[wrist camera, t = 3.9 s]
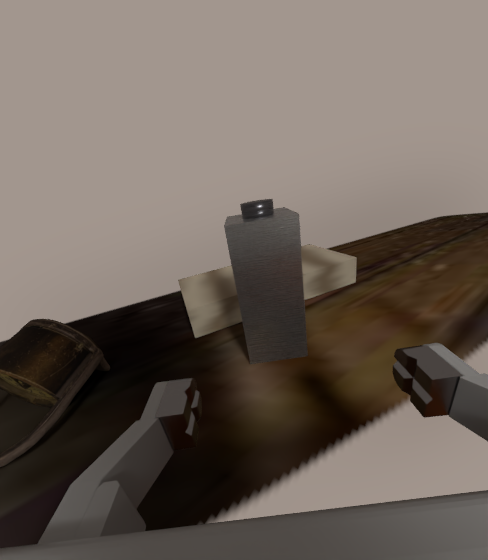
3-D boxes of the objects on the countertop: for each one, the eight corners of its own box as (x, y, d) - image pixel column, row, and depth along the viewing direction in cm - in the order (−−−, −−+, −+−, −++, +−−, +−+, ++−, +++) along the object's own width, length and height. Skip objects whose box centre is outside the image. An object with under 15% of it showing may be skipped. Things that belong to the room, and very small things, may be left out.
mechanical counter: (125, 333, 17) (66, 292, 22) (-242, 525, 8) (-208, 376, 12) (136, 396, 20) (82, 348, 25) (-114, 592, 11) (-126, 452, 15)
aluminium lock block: (250, 364, 20) (221, 210, 15) (247, 330, 24) (224, 205, 19) (307, 355, 19) (297, 197, 14) (294, 323, 24) (283, 195, 19)
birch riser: (195, 338, 24) (187, 310, 23) (184, 301, 33) (178, 280, 32) (355, 282, 30) (356, 257, 29) (310, 263, 39) (309, 244, 38)
